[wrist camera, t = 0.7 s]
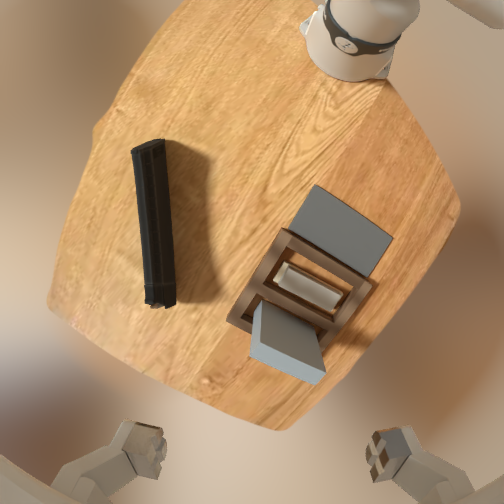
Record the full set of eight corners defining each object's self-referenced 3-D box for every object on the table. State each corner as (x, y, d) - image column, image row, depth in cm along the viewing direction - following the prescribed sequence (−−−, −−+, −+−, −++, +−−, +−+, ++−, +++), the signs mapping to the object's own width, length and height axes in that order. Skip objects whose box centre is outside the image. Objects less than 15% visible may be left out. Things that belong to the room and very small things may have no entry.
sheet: (262, 298, 53) (259, 342, 38) (313, 326, 54) (326, 372, 40) (254, 311, 54) (249, 356, 39) (305, 337, 55) (315, 385, 40)
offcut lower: (283, 258, 51) (284, 261, 49) (341, 290, 52) (343, 294, 50) (272, 276, 52) (273, 280, 50) (329, 306, 53) (331, 311, 51)
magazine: (129, 121, 37) (122, 320, 36) (148, 117, 37) (142, 321, 36) (165, 157, 54) (164, 304, 53) (180, 155, 54) (179, 304, 53)
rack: (281, 227, 49) (282, 230, 47) (368, 281, 51) (372, 285, 49) (227, 314, 54) (225, 321, 52) (310, 356, 56) (312, 363, 53)
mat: (314, 184, 47) (315, 184, 46) (391, 237, 48) (392, 238, 48) (287, 227, 49) (288, 228, 49) (366, 276, 51) (367, 277, 50)
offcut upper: (288, 264, 50) (288, 268, 48) (338, 291, 50) (341, 295, 48) (278, 281, 50) (278, 285, 49) (328, 307, 51) (330, 311, 49)
